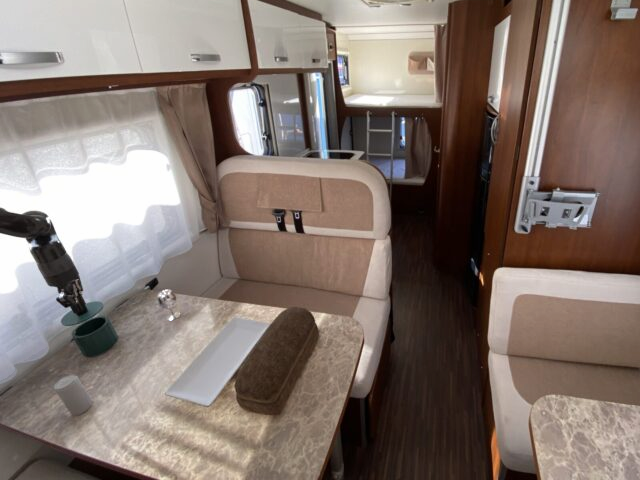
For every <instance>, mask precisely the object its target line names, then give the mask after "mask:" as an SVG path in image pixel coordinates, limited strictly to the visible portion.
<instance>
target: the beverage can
mask: <svg viewBox="0 0 640 480" xmlns="http://www.w3.org/2000/svg"><path fill="white" fill-rule="evenodd" d="M53 385H54V386H53V389H54V392H55V394H57V396H58V397H59V399H60V400H61V401H62V403H63V404H64V406H65V407H66V409H67V410H68V412H69V413H70V415H71V416H81V415H82V414H84V413H86V412H87V411H88V410H90V408H91V407H92V405H93V402H94V401H93V399H92V397H91V396H90V393H88V391H87V389H86V387H85V386H84V384H83V383H82V381H81V380H80V378H79V376H77V375H76V374H74V373H73V374H72V373H70V374H68V375H64V376H63V377H61V378H60V379H59V380H58V381H56V382H55V384H53Z"/></svg>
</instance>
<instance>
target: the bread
mask: <svg viewBox="0 0 640 480" xmlns="http://www.w3.org/2000/svg"><path fill="white" fill-rule="evenodd" d="M319 333H320V332H319V327H318V323H316V318H315V316H314V315H313V313H312V312H311V311H310V310H309V309H307V308H305V307H299V306H290V307H287V308H286V309H284V310H282V311H281V312H280V313H278V314H277V316H276V317H275V318H274V320H273V321H272V322H271V323H270V326H269V327H268V328H267V330H266V331H265V333H264V334H263V336H262V337H261V339H260V340H259V341H258V343H257V344H256V345H255V347H254V348H253V350H252V351H251V352H250V354H249V355H248V356H247V358H246V359H245V361H244V362H243V363H242V365H241V366H240V368H239V372H238V374H237V376H236V378H235V381H234V385H233V386H234V391H235V393H236V394H235V398H236V402H237V404H238V406H239V407H240V408H241V409H243V410H245V411H247V412H250V413H254V414H260V415H264V416H278V415H281V413H282V411H283V409H284V407H285V406H286V403H287V402H288V399H289V398H290V396H291V394H292V392H293V390H294V388H295V386H296V385H297V383H298V381H299V377H300V376H301V374H302V371H303V370H304V368H305V366H306V364H307V362H308V360H309V358H310V356H311V354H312V352H313V350H314V347H315V345H316V343H317V340H318V338H319V335H320V334H319Z"/></svg>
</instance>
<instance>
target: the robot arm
mask: <svg viewBox="0 0 640 480" xmlns="http://www.w3.org/2000/svg"><path fill="white" fill-rule="evenodd" d="M0 234H1V235H6V236H10V237H15V238H20V239H25V240H26V242H27V244H28V249H29V252H30V255H31V256H32V258H33V259H34V261H35V263H36V266H37V269H38V271H39V272H40V274H41V276H42V277H43V280H44V281H45V283H46V285H47V286H48V287H51V288H56V289H57V293H58V294H59V296H58V297H56V298H55V300H56V302H57V303H58V304H59V305H61V306H62V307H63V308H65V309H67V308H70V310H72V311H73V313H74V314H76V313H79V312H82V310H83V309H82V307H81V305H80V303H79V302H78V299H77V296H78V295H80V296H81V298H82V300H83V301H84V303H85V304H86V303H87V302H86V301H85V299H84V297H83V292H84V287H83V284H82V281H81V276H80V273H79V271H78V268H77V266H76V265H75V263H74V261H73V259H72V257H71V256H70V254H69V253H68V251H67V250H66V248H65V247H64V244H63V242H62V241H61V240H60V238H59V237H58V233H57V232H56V229H55V226H54V224H53V222H52V219H51V217H50V216H49V214H47V213H45V212H43V211H41V210H28V211H25V212H23V213H17V212H12V211H8V210H6V208H3V207H1V206H0ZM73 299H74V300H73Z"/></svg>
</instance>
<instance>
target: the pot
mask: <svg viewBox="0 0 640 480" xmlns="http://www.w3.org/2000/svg"><path fill="white" fill-rule="evenodd" d="M70 335H71V337H72V339H73V341H74V342H75V345H77V348H78V349H79V351H80V352H81V354H82V355H83V356H84V357H85V358H94V357H97V356H100V355H102V354H104V353H107V352H108V351H109V350H110V349H112V348H113V347H114V346H115V345H116V344H117V343H118V340H119V336H118V333H117V332H116V330H115V328H114V326H113V324H112V322H111V320H110V318H109V316H107V315H99V316H94V317H92V318H90V319H89V320H87V321H84V322H82V323H79V324H78V325H77V326H76V327H75V328H74V329H73V330H72V332H71V334H70Z"/></svg>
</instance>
